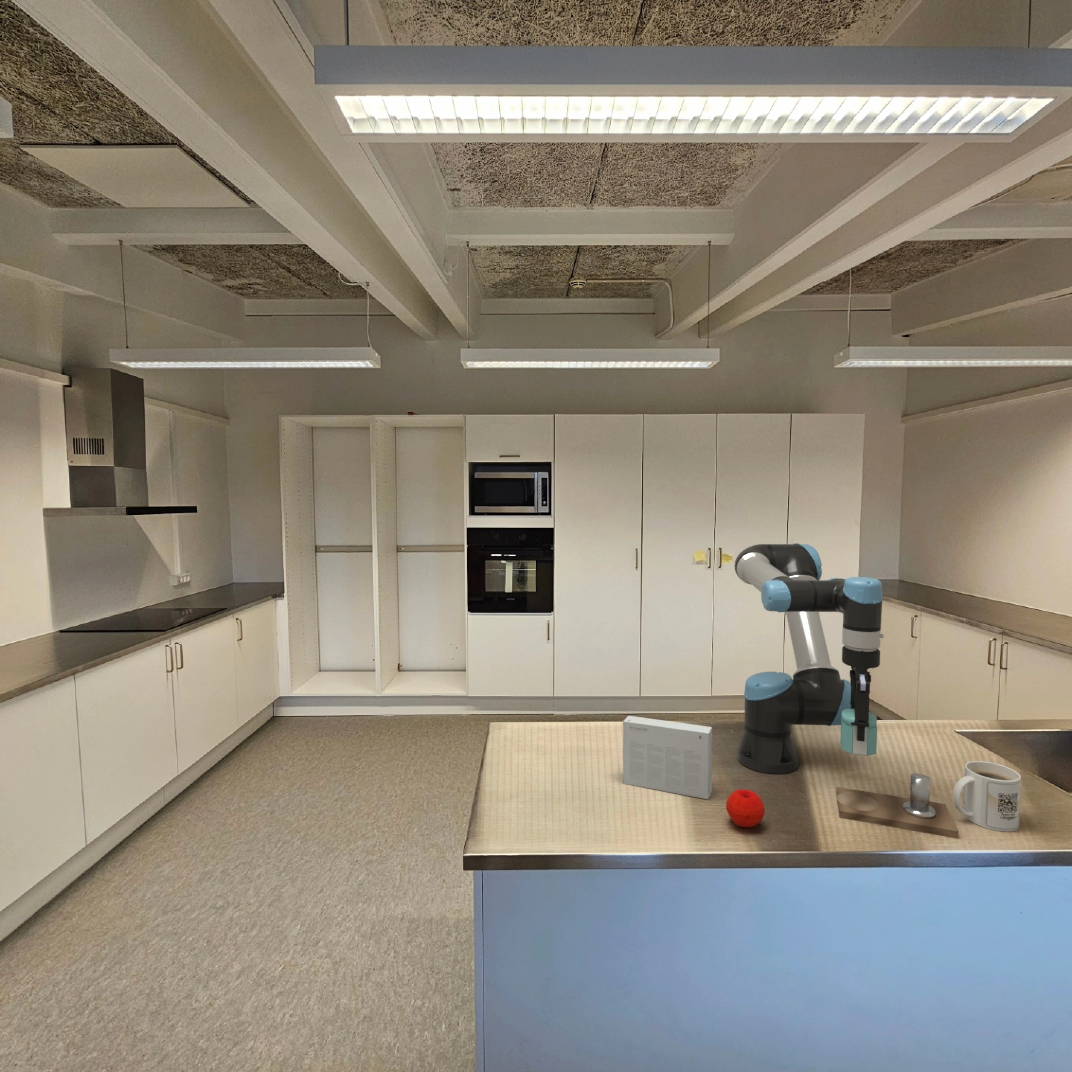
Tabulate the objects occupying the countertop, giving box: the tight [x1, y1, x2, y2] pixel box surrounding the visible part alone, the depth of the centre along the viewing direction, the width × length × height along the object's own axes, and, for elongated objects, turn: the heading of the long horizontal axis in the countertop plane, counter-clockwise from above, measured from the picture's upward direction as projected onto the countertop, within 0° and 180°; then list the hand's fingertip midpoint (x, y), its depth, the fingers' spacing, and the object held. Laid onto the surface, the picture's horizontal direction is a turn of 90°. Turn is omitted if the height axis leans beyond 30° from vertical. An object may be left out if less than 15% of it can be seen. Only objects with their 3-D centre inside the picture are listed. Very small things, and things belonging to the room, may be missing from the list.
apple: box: [725, 789, 766, 828], centre depth 131 cm, size 8×8×7 cm
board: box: [835, 786, 959, 839], centre depth 135 cm, size 22×12×2 cm, turn 67°
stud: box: [903, 773, 936, 819], centre depth 133 cm, size 6×6×8 cm
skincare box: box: [622, 715, 713, 800], centre depth 149 cm, size 21×5×16 cm, turn 65°
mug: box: [952, 760, 1022, 833], centre depth 132 cm, size 10×12×11 cm
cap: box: [839, 709, 878, 757], centre depth 137 cm, size 7×7×8 cm
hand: (858, 746), depth 137 cm, fingers closed on cap, 7 cm apart
